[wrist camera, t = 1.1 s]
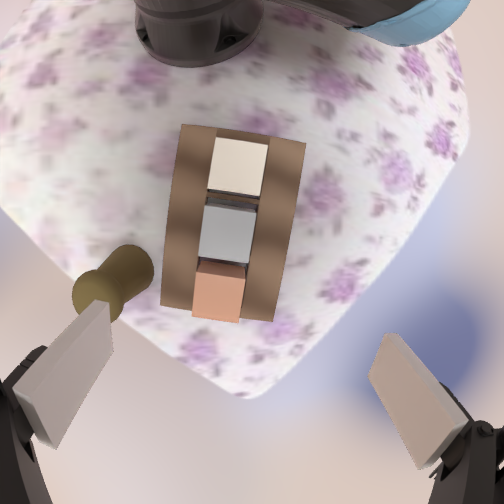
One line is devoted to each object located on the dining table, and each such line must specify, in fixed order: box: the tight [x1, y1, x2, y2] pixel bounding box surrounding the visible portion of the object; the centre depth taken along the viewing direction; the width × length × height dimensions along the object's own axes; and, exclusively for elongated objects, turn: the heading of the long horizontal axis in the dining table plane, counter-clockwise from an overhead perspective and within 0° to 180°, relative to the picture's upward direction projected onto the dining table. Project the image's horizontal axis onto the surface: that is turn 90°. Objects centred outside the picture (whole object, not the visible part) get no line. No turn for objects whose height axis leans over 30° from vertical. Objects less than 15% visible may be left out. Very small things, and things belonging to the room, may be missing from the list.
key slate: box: [198, 203, 257, 263], centre depth 27 cm, size 4×4×4 cm
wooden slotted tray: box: [160, 124, 306, 322], centre depth 31 cm, size 20×13×2 cm, turn 171°
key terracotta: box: [192, 261, 246, 323], centre depth 28 cm, size 4×4×4 cm
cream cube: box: [207, 137, 268, 196], centre depth 26 cm, size 4×4×4 cm
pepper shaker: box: [72, 245, 154, 323], centre depth 27 cm, size 6×6×11 cm
